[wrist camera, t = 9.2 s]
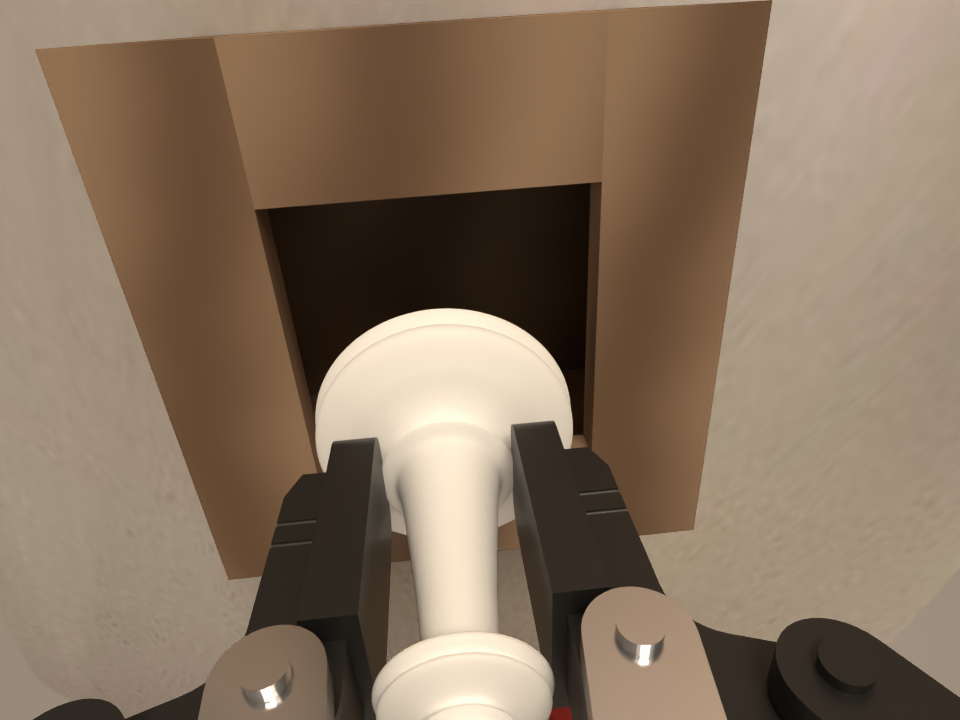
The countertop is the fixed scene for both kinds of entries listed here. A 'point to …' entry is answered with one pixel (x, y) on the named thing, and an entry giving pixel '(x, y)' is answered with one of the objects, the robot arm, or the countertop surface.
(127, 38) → the countertop surface
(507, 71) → the drop box
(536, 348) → the chess piece
